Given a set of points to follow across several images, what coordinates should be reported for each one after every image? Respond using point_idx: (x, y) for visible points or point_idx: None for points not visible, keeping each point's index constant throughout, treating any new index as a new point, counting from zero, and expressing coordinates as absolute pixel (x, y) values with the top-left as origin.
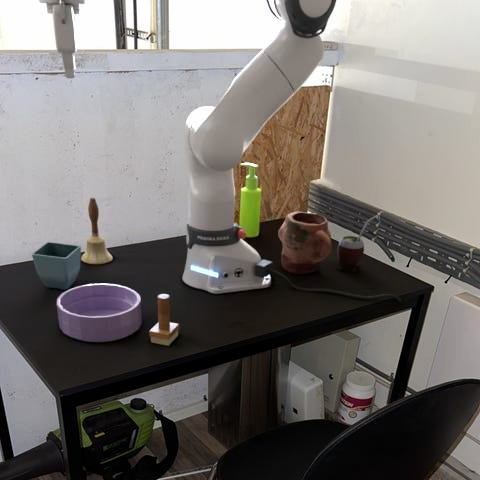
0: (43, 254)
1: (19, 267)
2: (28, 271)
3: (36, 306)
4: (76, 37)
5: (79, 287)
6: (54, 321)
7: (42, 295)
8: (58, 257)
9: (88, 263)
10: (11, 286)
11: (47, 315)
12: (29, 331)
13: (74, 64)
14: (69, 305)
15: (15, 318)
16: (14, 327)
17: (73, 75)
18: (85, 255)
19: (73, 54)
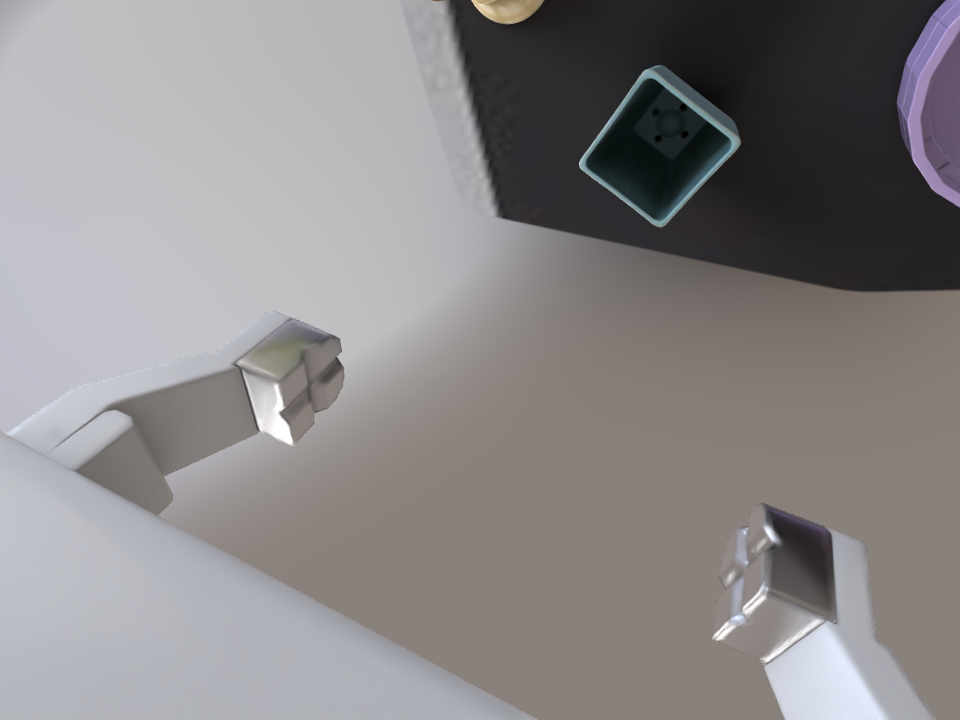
0: (622, 181)
1: (520, 196)
2: (549, 182)
3: (781, 211)
4: (71, 673)
5: (920, 125)
6: (913, 191)
7: (717, 182)
8: (722, 163)
9: (540, 5)
10: (628, 237)
11: (859, 199)
12: (931, 260)
13: (290, 370)
14: (942, 159)
15: (826, 270)
16: (879, 283)
17: (861, 564)
18: (510, 11)
19: (150, 402)
